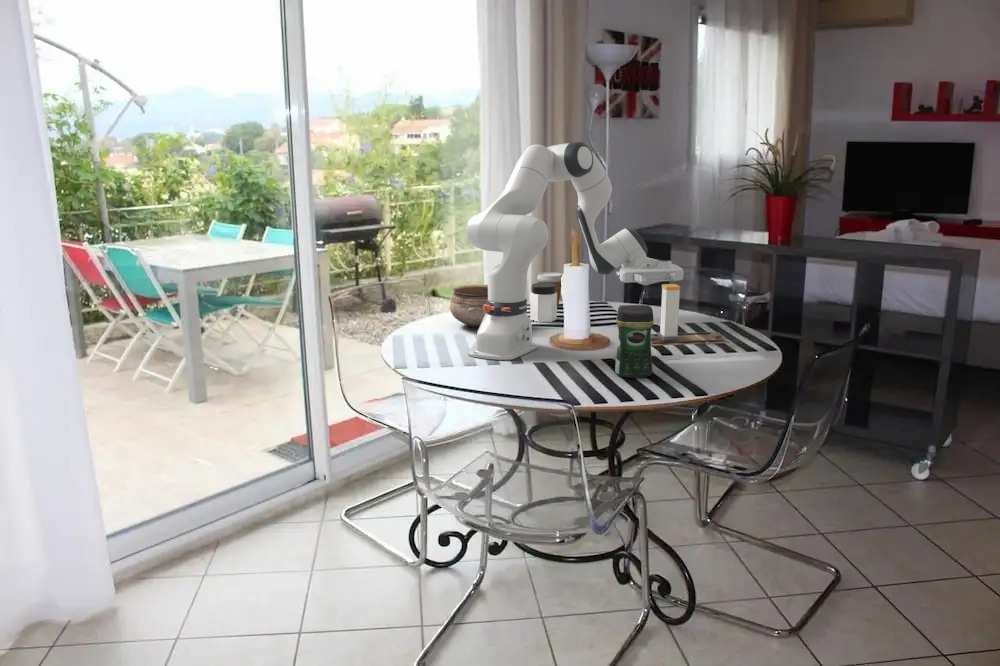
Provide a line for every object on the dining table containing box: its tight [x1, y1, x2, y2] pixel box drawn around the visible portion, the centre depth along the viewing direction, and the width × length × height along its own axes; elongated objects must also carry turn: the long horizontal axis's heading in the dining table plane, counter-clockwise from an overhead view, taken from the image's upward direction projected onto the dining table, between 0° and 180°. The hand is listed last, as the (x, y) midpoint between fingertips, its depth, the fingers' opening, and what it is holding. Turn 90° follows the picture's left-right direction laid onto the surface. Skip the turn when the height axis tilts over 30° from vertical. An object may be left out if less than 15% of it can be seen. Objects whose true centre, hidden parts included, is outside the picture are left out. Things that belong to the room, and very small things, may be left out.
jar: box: [529, 282, 558, 323], centre depth 270 cm, size 9×8×12 cm
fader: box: [656, 283, 681, 341], centre depth 240 cm, size 5×6×16 cm
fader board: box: [651, 331, 732, 347], centre depth 242 cm, size 26×13×2 cm, turn 97°
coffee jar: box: [614, 304, 655, 379], centre depth 209 cm, size 10×8×19 cm
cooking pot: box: [449, 284, 488, 330], centre depth 262 cm, size 25×19×12 cm
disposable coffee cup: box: [536, 271, 563, 308], centre depth 290 cm, size 10×10×12 cm
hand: (658, 279), depth 250 cm, fingers open, 8 cm apart
